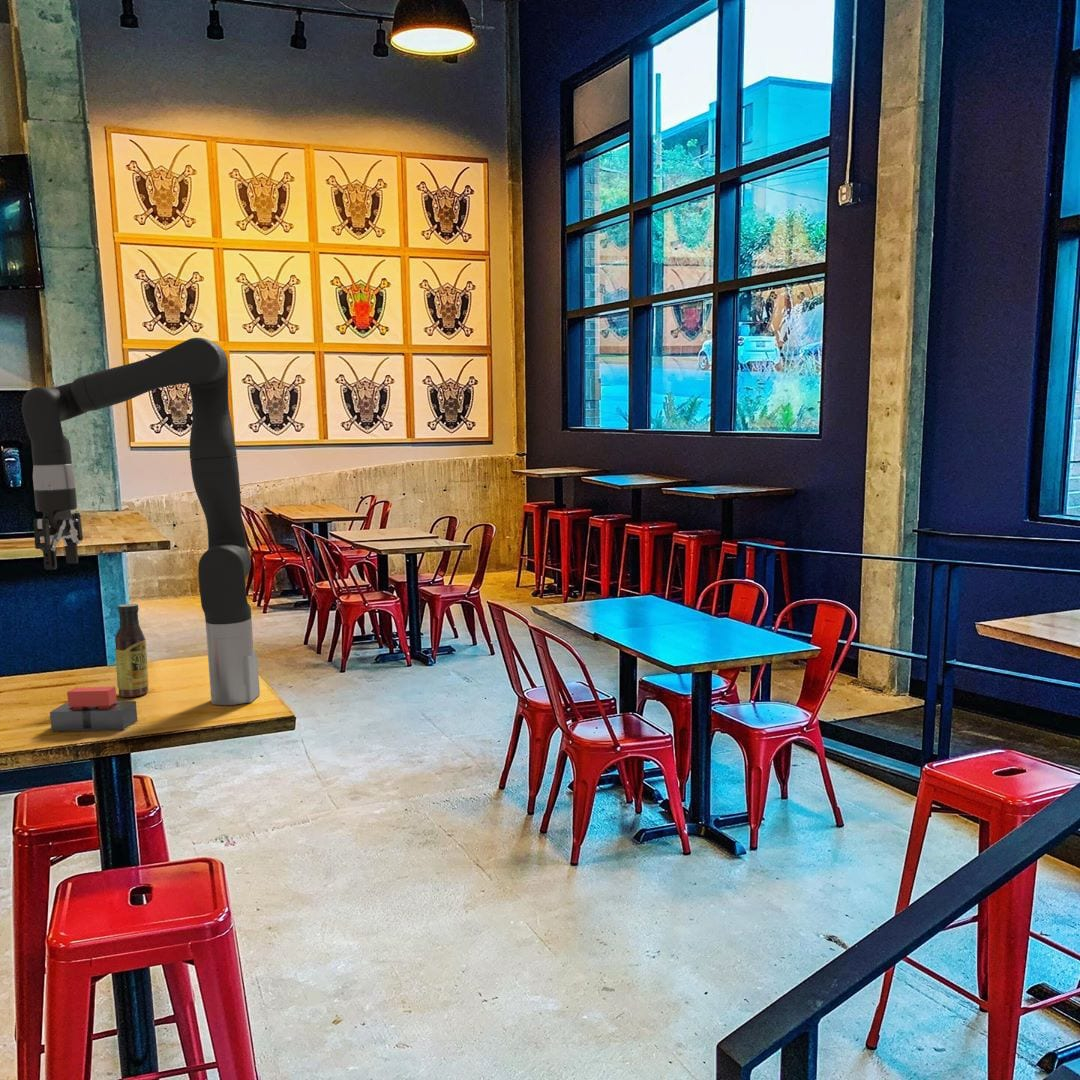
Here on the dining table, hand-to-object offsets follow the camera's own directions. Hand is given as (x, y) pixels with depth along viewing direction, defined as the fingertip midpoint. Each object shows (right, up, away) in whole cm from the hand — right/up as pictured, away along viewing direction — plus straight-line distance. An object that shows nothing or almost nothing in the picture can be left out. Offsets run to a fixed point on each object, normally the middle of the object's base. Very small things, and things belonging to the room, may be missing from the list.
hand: (62, 566), depth 193 cm
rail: (+11, -31, -8) cm, 34 cm away
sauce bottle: (+9, -29, +14) cm, 33 cm away
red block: (+11, -31, -8) cm, 33 cm away
